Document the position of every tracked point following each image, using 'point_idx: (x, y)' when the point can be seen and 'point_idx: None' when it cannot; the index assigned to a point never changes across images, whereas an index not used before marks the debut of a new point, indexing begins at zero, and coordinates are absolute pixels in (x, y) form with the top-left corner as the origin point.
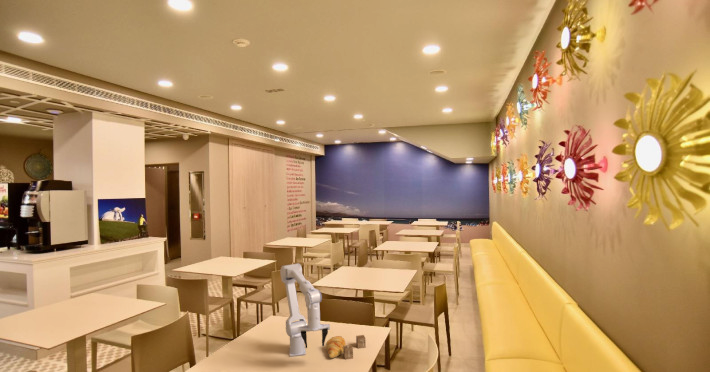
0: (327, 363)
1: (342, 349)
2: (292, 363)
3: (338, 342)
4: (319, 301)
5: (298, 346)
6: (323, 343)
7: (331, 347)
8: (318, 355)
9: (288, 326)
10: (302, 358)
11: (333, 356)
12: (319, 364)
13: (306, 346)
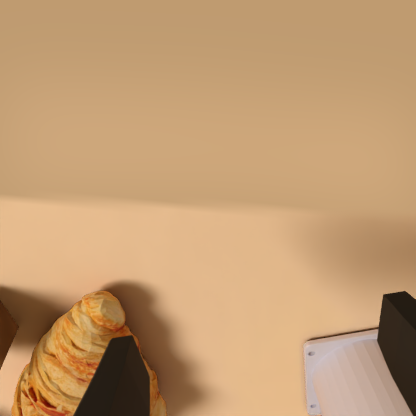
0: (124, 233)
1: (26, 378)
2: (410, 242)
3: None
4: None
5: (378, 393)
6: (103, 377)
7: None
8: (212, 332)
9: None
10: (328, 301)
11: (81, 304)
12: (192, 221)
13: (413, 311)
